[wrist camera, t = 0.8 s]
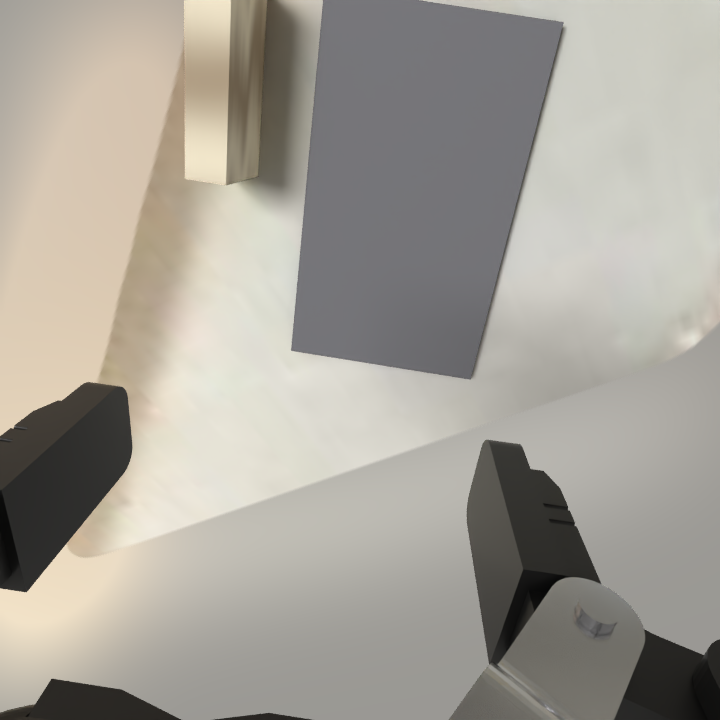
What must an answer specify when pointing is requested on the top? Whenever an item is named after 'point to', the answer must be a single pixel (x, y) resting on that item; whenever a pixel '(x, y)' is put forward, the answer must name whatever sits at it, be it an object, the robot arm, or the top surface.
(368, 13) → the mat
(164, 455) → the top surface
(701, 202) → the top surface
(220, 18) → the wooden block
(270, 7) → the top surface
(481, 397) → the top surface
